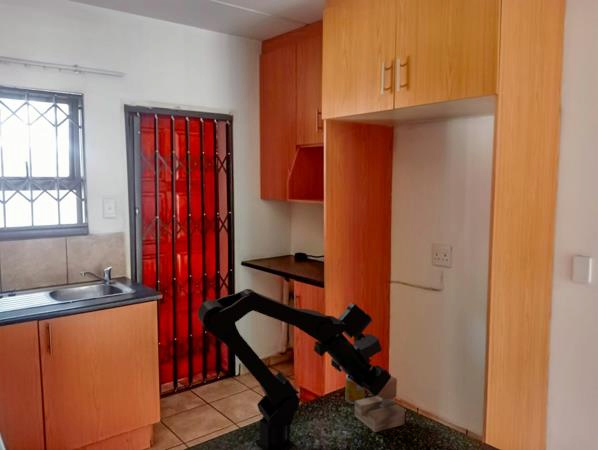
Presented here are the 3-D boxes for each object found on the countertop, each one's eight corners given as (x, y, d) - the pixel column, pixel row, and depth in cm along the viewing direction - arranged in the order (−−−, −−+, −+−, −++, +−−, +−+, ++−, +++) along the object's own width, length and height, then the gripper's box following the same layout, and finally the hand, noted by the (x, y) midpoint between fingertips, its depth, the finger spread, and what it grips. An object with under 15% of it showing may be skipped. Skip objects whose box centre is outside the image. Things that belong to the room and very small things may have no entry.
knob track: (374, 432, 113) (375, 416, 113) (354, 415, 121) (354, 400, 121) (404, 424, 117) (404, 409, 117) (382, 408, 125) (383, 394, 125)
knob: (383, 419, 117) (384, 385, 116) (371, 410, 121) (372, 377, 120) (400, 414, 119) (401, 381, 118) (387, 406, 124) (388, 373, 123)
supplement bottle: (341, 398, 131) (342, 364, 131) (357, 394, 134) (358, 361, 133) (351, 406, 127) (352, 371, 126) (368, 402, 129) (369, 368, 128)
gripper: (386, 337, 106) (421, 378, 112) (343, 316, 123) (375, 352, 129) (355, 375, 103) (392, 415, 109) (315, 348, 120) (349, 384, 126)
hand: (377, 389), depth 118 cm, fingers closed, pressing on knob
